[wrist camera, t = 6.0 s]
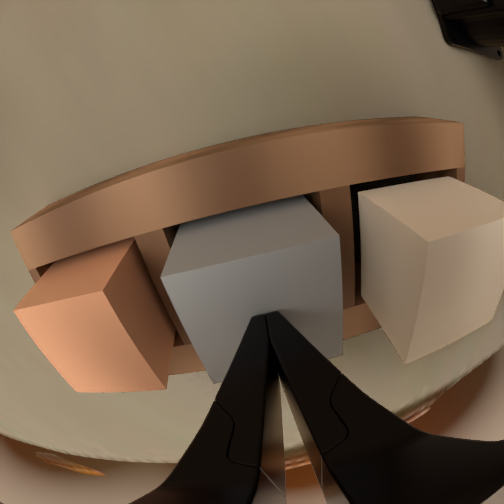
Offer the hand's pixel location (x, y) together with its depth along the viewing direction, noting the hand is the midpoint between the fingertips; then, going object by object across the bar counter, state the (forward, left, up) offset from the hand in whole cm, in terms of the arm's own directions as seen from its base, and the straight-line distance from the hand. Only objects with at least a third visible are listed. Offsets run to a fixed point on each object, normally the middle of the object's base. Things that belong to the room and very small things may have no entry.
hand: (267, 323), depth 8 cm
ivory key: (-7, 0, -3) cm, 8 cm away
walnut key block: (0, 0, -6) cm, 6 cm away
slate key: (0, 0, -5) cm, 5 cm away
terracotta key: (+7, 0, -5) cm, 8 cm away
